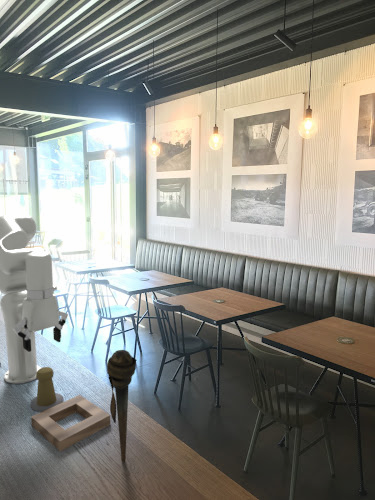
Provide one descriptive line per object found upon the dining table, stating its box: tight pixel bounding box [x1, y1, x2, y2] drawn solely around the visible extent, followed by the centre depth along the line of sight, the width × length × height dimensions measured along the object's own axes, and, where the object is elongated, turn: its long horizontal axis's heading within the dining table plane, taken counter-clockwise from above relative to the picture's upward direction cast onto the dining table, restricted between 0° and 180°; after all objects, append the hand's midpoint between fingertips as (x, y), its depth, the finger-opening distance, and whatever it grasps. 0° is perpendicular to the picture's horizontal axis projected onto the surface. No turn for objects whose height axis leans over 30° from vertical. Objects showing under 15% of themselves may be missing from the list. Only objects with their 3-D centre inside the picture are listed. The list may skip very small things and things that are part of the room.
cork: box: [36, 366, 56, 406], centre depth 124 cm, size 6×6×11 cm
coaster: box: [29, 392, 64, 413], centre depth 125 cm, size 10×10×1 cm
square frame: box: [30, 394, 111, 452], centre depth 113 cm, size 16×16×3 cm
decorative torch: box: [106, 349, 137, 463], centre depth 96 cm, size 7×7×30 cm
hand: (42, 345), depth 122 cm, fingers open, 9 cm apart
